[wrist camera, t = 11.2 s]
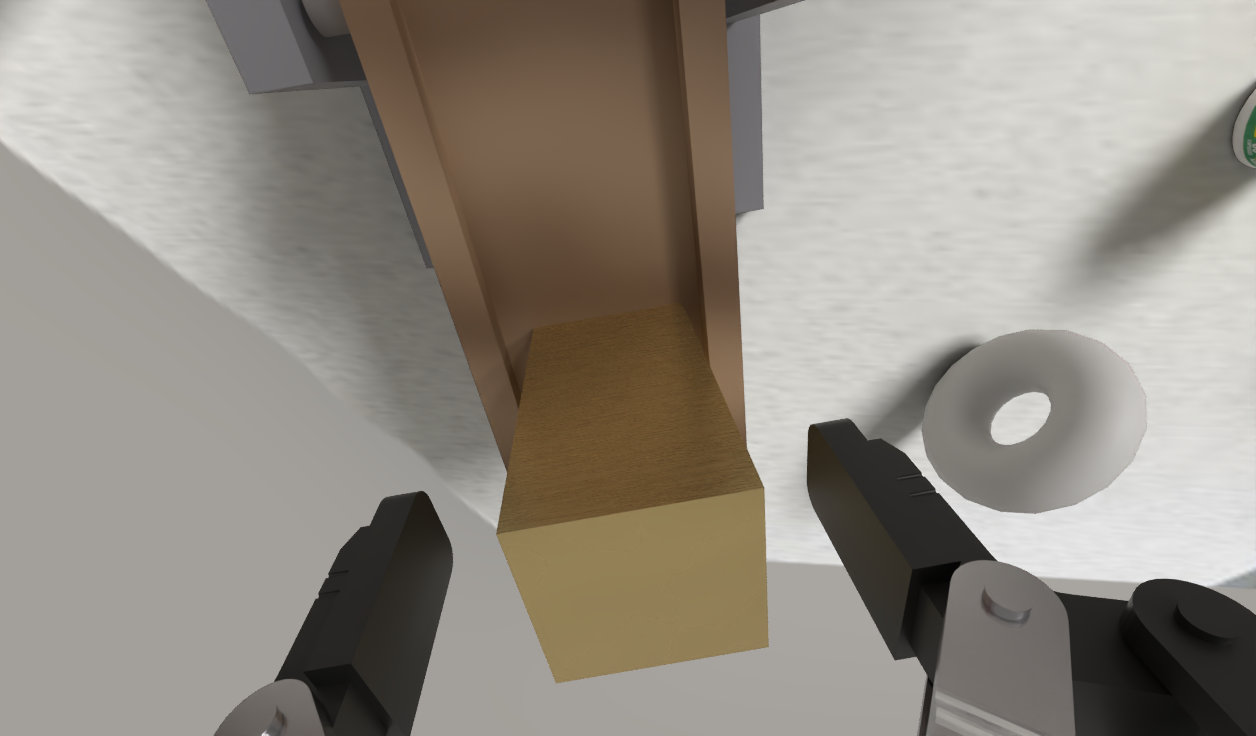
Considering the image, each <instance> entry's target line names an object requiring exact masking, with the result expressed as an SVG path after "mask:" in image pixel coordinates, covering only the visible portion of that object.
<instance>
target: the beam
mask: <svg viewBox="0 0 1256 736" xmlns="http://www.w3.org/2000/svg"><path fill="white" fill-rule="evenodd" d="M302 2H303V5H304V7H305V9H306V12H307V14H308V16H309V18H310V19H311V21H312V23H313V24H314V26H315V27H316V29H317V30H318V31H319V32H320V33H321V34H322V35H323V36H324V37H333V36H338V35H344V34H349V33H350V34H351V36H352V39H353V42H354V45H355V48H356V50H357V53H358V56H359V59H360V62H361V64H362V67H363V70H364V73H365V76H366V78H367V81H368V84H369V87H370V90H371V92H372V95H373V98H374V101H375V104H376V106H377V109H378V112H379V115H380V118H381V120H382V123H383V126H384V129H385V132H386V134H387V137H388V140H389V143H390V146H391V148H392V151H393V154H394V157H395V160H396V162H397V165H398V168H399V171H400V174H401V176H402V179H403V182H404V185H405V188H406V190H407V193H408V196H409V199H410V202H411V204H412V207H413V210H414V213H415V216H416V218H417V221H418V224H419V227H420V230H421V232H422V235H423V238H424V241H425V244H426V246H427V249H428V252H429V255H430V258H431V260H432V263H433V266H434V269H435V272H436V274H437V277H438V280H439V283H440V286H441V288H442V291H443V294H444V297H445V300H446V302H447V305H448V308H449V311H450V314H451V316H452V319H453V322H454V325H455V328H456V330H457V333H458V336H459V339H460V342H461V344H462V347H463V350H464V353H465V356H466V358H467V361H468V364H469V367H470V370H471V372H472V375H473V378H474V381H475V384H476V386H477V389H478V392H479V395H480V398H481V400H482V403H483V406H484V409H485V412H486V414H487V417H488V420H489V423H490V426H491V428H492V431H493V434H494V437H495V440H496V442H497V445H498V448H499V451H500V454H501V456H502V459H503V462H504V465H505V468H506V470H507V472H508V467H509V461H510V456H511V450H512V445H513V439H514V434H515V428H516V423H517V417H518V411H519V406H520V400H521V395H522V389H523V384H524V378H525V373H526V367H527V362H528V356H529V351H530V345H531V340H532V334H533V329H534V328H538V327H544V326H550V325H555V324H561V323H567V322H573V321H578V320H584V319H590V318H595V317H601V316H607V315H613V314H618V313H624V312H630V311H636V310H641V309H647V308H653V307H658V306H664V305H670V304H676V303H681V302H682V304H683V307H684V309H685V311H686V313H687V316H688V318H689V320H690V322H691V325H692V327H693V329H694V331H695V334H696V336H697V338H698V340H699V343H700V345H701V347H702V349H703V352H704V354H705V356H706V358H707V361H708V363H709V365H710V367H711V370H712V372H713V374H714V376H715V378H716V381H717V383H718V385H719V387H720V390H721V392H722V394H723V396H724V399H725V401H726V403H727V405H728V408H729V410H730V412H731V414H732V417H733V419H734V421H735V423H736V426H737V428H738V430H739V432H740V435H741V437H742V439H743V441H744V444H745V446H746V448H747V443H746V423H745V402H744V381H743V361H742V340H741V319H740V299H739V278H738V257H737V237H736V216H735V195H734V175H733V154H732V133H731V113H730V92H729V71H728V51H727V30H726V9H725V0H302Z"/></svg>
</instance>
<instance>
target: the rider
mask: <svg viewBox="0 0 1256 736" xmlns="http://www.w3.org/2000/svg"><path fill="white" fill-rule="evenodd" d="M496 535H497V537H498V539H499V542H500V545H501V547H502V550H503V552H504V555H505V557H506V560H507V562H508V565H509V567H510V569H511V572H512V574H513V577H514V580H515V582H516V584H517V587H518V589H519V592H520V594H521V597H522V599H523V602H524V604H525V607H526V609H527V612H528V614H529V616H530V619H531V622H532V624H533V627H534V629H535V631H536V634H537V637H538V639H539V642H540V644H541V647H542V649H543V652H544V654H545V657H546V659H547V662H548V664H549V667H550V669H551V671H552V674H553V677H554V679H555V682H556V683H561V682H566V681H572V680H578V679H584V678H590V677H595V676H601V675H607V674H613V673H619V672H624V671H631V670H637V669H643V668H648V667H654V666H660V665H666V664H672V663H677V662H684V661H689V660H695V659H701V658H707V657H713V656H718V655H725V654H730V653H736V652H742V651H747V650H754V649H760V648H765V647H768V609H767V573H766V534H765V497H764V486H763V484H762V482H761V480H760V477H759V475H758V473H757V471H756V468H755V466H754V464H753V462H752V459H751V457H750V455H749V453H748V450H747V448H746V446H745V444H744V441H743V439H742V437H741V435H740V432H739V430H738V428H737V426H736V423H735V421H734V419H733V417H732V414H731V412H730V410H729V408H728V405H727V403H726V401H725V399H724V396H723V394H722V392H721V390H720V387H719V385H718V383H717V381H716V378H715V376H714V374H713V372H712V370H711V367H710V365H709V363H708V361H707V358H706V356H705V354H704V352H703V349H702V347H701V345H700V343H699V340H698V338H697V336H696V334H695V331H694V329H693V327H692V325H691V322H690V320H689V318H688V316H687V313H686V311H685V309H684V307H683V304H682V302H681V303H676V304H670V305H664V306H658V307H653V308H647V309H641V310H636V311H630V312H624V313H618V314H613V315H607V316H601V317H595V318H590V319H584V320H578V321H573V322H567V323H561V324H555V325H550V326H544V327H538V328H534V329H533V334H532V340H531V345H530V351H529V356H528V362H527V367H526V373H525V378H524V384H523V389H522V395H521V400H520V406H519V411H518V417H517V423H516V428H515V434H514V439H513V445H512V450H511V456H510V461H509V467H508V472H507V478H506V483H505V489H504V494H503V500H502V505H501V511H500V516H499V522H498V528H497V533H496Z"/></svg>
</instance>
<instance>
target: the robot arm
mask: <svg viewBox="0 0 1256 736" xmlns="http://www.w3.org/2000/svg"><path fill="white" fill-rule="evenodd" d="M807 487H808V493H809V497H810V500H811V503H812V506H813V508H814V510H815V512H816V514H817V516H818V518H819V520H820V521H821V523H822V525H823V527H824V529H825V531H826V533H827V534H828V536H829V538H830V540H831V542H832V544H833V546H834V548H835V549H836V551H837V553H838V555H839V557H840V559H841V561H842V563H843V564H844V566H845V568H846V570H847V572H848V574H849V576H850V577H851V579H852V581H853V583H854V585H855V587H856V589H857V591H858V592H859V594H860V596H861V598H862V600H863V602H864V604H865V606H866V607H867V609H868V611H869V613H870V615H871V617H872V619H873V620H874V622H875V624H876V626H877V628H878V630H879V632H880V633H881V635H882V637H883V639H884V641H885V643H886V645H887V646H888V648H889V650H890V652H891V654H892V656H893V658H894V660H900V659H906V658H911V657H917V658H918V660H919V661H920V663H921V665H922V666H923V669H924V670H925V672H926V674H927V677H926V681H925V686H924V693H923V700H922V707H921V713H920V719H919V726H918V733H917V736H1256V615H1255V614H1254V613H1252V612H1251V611H1250V610H1248V609H1247V608H1245V607H1244V606H1242V605H1241V604H1239V603H1238V602H1236V601H1234V600H1232V599H1230V598H1229V597H1227V596H1225V595H1223V594H1220V593H1218V592H1216V591H1214V590H1212V589H1209V588H1206V587H1204V586H1201V585H1198V584H1194V583H1190V582H1186V581H1181V580H1175V579H1154V580H1149V581H1146V582H1144V583H1141V584H1140V585H1139V586H1138V587H1137V588H1136V589H1135V591H1134V592H1133V594H1132V596H1131V598H1130V600H1129V601H1123V600H1114V599H1106V598H1097V597H1089V596H1080V595H1071V594H1065V593H1059V592H1055V591H1053V590H1052V589H1050V588H1049V587H1048V586H1047V585H1046V584H1045V583H1044V582H1042V581H1041V580H1039V579H1038V578H1037V577H1035V576H1034V575H1032V574H1030V573H1029V572H1027V571H1025V570H1023V569H1020V568H1018V567H1016V566H1013V565H1010V564H1007V563H1003V562H998V561H997V560H996V559H995V558H994V557H993V556H992V555H991V554H990V553H989V551H988V550H987V549H986V548H985V547H984V546H983V544H982V543H981V542H980V541H979V540H978V538H977V537H976V536H975V535H974V534H973V533H972V531H971V530H970V529H969V528H968V527H967V526H966V524H965V523H964V522H963V521H962V520H961V518H960V517H959V516H958V515H957V514H956V513H955V511H954V510H953V509H952V508H951V507H950V506H949V504H948V503H947V502H946V501H945V500H944V499H943V497H942V496H941V495H940V494H939V493H936V491H935V488H934V487H933V486H932V484H931V483H930V482H929V481H928V480H927V479H926V477H923V476H922V473H921V471H920V470H919V469H918V468H917V467H916V466H915V464H914V463H913V462H912V461H911V460H910V459H909V457H908V456H907V455H906V454H905V453H904V452H902V451H900V450H899V449H897V448H895V447H894V446H892V445H891V444H889V443H887V442H886V441H884V440H882V439H875V440H869V441H867V439H866V438H865V437H864V436H863V434H862V433H861V432H860V430H859V429H858V428H857V427H856V425H855V424H854V423H853V422H852V421H851V420H850V419H848V418H846V419H840V420H834V421H829V422H823V423H817V424H812V425H810V427H809V430H808V454H807ZM452 566H453V553H452V547H451V543H450V540H449V538H448V536H447V534H446V532H445V530H444V527H443V525H442V523H441V521H440V519H439V517H438V515H437V513H436V511H435V509H434V507H433V504H432V502H431V500H430V499H429V496H428V495H427V494H426V493H425V492H423V491H419V492H413V493H407V494H401V495H396V496H390V497H386V498H384V499H383V500H382V501H381V503H380V505H379V507H378V509H377V511H376V513H375V516H374V518H373V520H372V522H371V524H370V526H366V527H361V528H360V529H359V530H358V531H357V532H356V533H355V534H354V535H353V536H352V538H350V540H349V541H348V542H347V543H346V544H345V545H344V546H343V547H342V548H341V549H340V551H339V553H338V555H337V557H336V559H335V562H334V563H333V565H332V568H331V569H330V571H329V573H328V574H329V578H326V579H325V582H324V583H323V585H322V588H321V589H320V591H319V598H318V599H316V600H315V601H314V603H313V606H312V608H311V609H310V611H309V613H308V615H307V617H306V620H305V621H304V624H303V625H302V628H301V629H300V632H299V634H298V636H297V638H296V640H295V642H294V644H293V646H292V648H291V650H290V652H289V654H288V656H287V658H286V660H285V662H284V664H283V666H282V668H281V670H280V672H279V674H278V676H277V678H276V679H275V681H274V683H271V684H269V685H266V686H264V687H262V688H261V689H259V690H257V691H256V692H254V693H253V694H251V695H250V696H249V697H248V698H246V699H245V700H243V701H242V702H241V703H240V704H239V705H238V706H237V707H236V708H235V709H234V710H233V711H232V712H231V713H230V714H229V715H228V716H227V717H226V719H225V720H224V721H223V722H222V724H221V725H220V726H219V728H218V730H217V731H216V733H215V734H214V736H410V734H411V730H412V726H413V722H414V718H415V714H416V710H417V706H418V702H419V698H420V695H421V691H422V686H423V683H424V679H425V675H426V671H427V667H428V663H429V659H430V655H431V651H432V647H433V643H434V639H435V635H436V631H437V627H438V623H439V619H440V616H441V612H442V608H443V604H444V600H445V596H446V592H447V588H448V584H449V580H450V577H451V572H452Z"/></svg>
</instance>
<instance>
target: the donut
mask: <svg viewBox="0 0 1256 736" xmlns="http://www.w3.org/2000/svg"><path fill="white" fill-rule="evenodd" d="M1029 392H1039V393H1044V394H1046V395H1047V396H1048V397H1049V400H1050V403H1051V412H1050V414H1049V416H1048V418H1047V420H1046V423H1045V424H1044V425H1043V426H1042V427H1041V428H1040V430H1039V431H1038V432H1037V433H1036V434H1034V435H1033V436H1031V437H1030V438H1028V439H1026V440H1025V441H1022V442H1019V443H1016V444H1013V445H1001V444H998V443H996V442H995V441H994V440H993V439H992V436H991V423H992V421H993V419H994V417H995V415H996V413H997V412H998V411H999V409H1000V408H1001V407H1002V406H1003V405H1004V404H1005V403H1007V402H1008V401H1010V400H1011V399H1013V398H1014V397H1017V396H1019V395H1022V394H1024V393H1029ZM1146 429H1147V400H1146V394H1145V392H1144V390H1143V388H1142V386H1141V384H1140V382H1139V380H1138V378H1137V377H1136V375H1135V373H1134V371H1133V369H1132V367H1131V366H1130V364H1129V363H1128V362H1127V361H1125V360H1124V359H1123V358H1122V357H1120V356H1119V355H1118V354H1117V353H1115V352H1114V351H1113V350H1111V349H1110V348H1109V347H1108V346H1106V345H1105V344H1104V343H1102V342H1100V341H1097V340H1095V339H1092V338H1089V337H1086V336H1082V335H1079V334H1076V333H1073V332H1070V331H1067V330H1025V331H1020V332H1016V333H1012V334H1007V335H1003V336H999V337H997V338H995V339H993V340H991V341H988V342H986V343H984V344H982V345H980V346H978V347H976V348H974V349H972V350H971V351H970V352H968V353H967V354H966V355H965V356H963V357H962V358H961V359H959V360H958V361H957V362H956V363H954V364H953V365H952V366H951V367H950V368H949V369H948V371H947V372H946V373H945V374H944V376H943V377H942V378H941V379H940V380H939V382H938V383H937V384H936V385H935V387H934V389H933V391H932V394H931V396H930V398H929V400H928V402H927V404H926V407H925V411H924V418H923V424H922V435H923V441H924V446H925V451H926V455H927V458H928V459H929V461H930V463H931V464H932V466H933V468H934V469H935V471H936V473H937V474H938V476H939V477H940V479H942V480H943V481H944V482H945V483H946V484H947V485H949V486H950V487H951V488H952V489H954V490H955V491H956V492H957V493H959V494H960V495H961V496H962V497H964V498H965V499H967V500H969V501H972V502H975V503H978V504H980V505H983V506H986V507H989V508H992V509H994V510H997V511H1001V512H1016V513H1034V514H1036V513H1041V512H1045V511H1049V510H1054V509H1058V508H1063V507H1067V506H1072V505H1075V504H1077V503H1079V502H1081V501H1083V500H1085V499H1087V498H1088V497H1090V496H1092V495H1094V494H1096V493H1098V492H1099V491H1101V490H1103V489H1105V488H1107V487H1108V486H1109V485H1110V484H1111V483H1112V482H1113V481H1114V480H1115V479H1116V478H1117V477H1118V476H1119V475H1120V474H1121V473H1122V472H1123V471H1124V470H1125V469H1126V468H1127V467H1128V466H1129V465H1130V464H1131V462H1132V461H1133V459H1134V457H1135V455H1136V452H1137V450H1138V448H1139V445H1140V443H1141V441H1142V438H1143V436H1144V434H1145V432H1146Z"/></svg>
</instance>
